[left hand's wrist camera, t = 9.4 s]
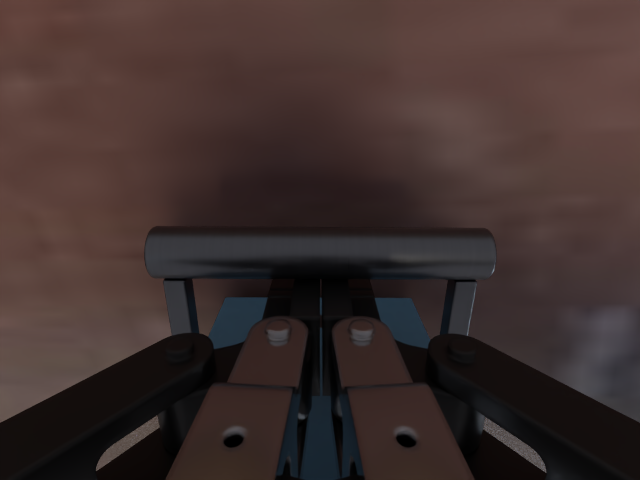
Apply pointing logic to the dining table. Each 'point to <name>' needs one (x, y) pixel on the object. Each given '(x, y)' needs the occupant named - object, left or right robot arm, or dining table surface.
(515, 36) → the dining table surface
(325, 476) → the drawer
